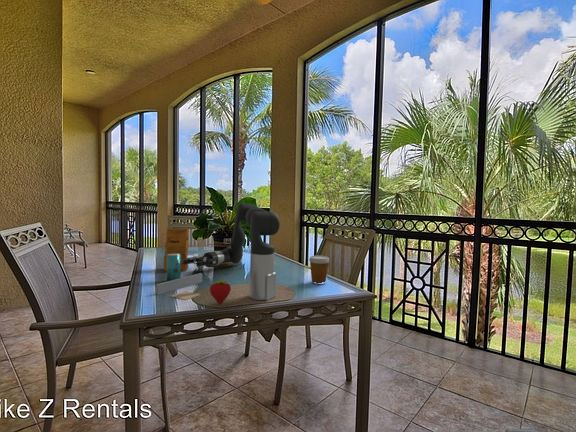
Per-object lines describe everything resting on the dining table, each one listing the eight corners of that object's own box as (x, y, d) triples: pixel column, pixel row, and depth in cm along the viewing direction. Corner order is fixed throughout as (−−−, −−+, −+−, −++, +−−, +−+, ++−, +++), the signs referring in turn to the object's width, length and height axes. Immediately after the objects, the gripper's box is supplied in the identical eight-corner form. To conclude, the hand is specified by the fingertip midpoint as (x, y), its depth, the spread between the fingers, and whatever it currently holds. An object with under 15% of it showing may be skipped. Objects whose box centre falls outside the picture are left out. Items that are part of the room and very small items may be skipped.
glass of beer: (318, 286, 145) (319, 259, 144) (304, 282, 152) (304, 256, 151) (333, 283, 151) (334, 257, 150) (318, 279, 158) (319, 254, 157)
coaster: (200, 295, 127) (201, 294, 127) (185, 300, 120) (185, 299, 120) (186, 291, 131) (186, 291, 131) (170, 296, 124) (170, 295, 124)
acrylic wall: (202, 282, 147) (202, 273, 147) (158, 294, 126) (158, 284, 126) (200, 281, 148) (200, 272, 147) (156, 294, 126) (156, 284, 126)
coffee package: (166, 267, 175) (166, 226, 174) (190, 267, 176) (190, 227, 175) (161, 271, 165) (161, 228, 164) (186, 272, 166) (186, 229, 165)
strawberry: (208, 302, 119) (208, 275, 118) (228, 300, 122) (228, 273, 121) (211, 307, 114) (211, 278, 113) (232, 304, 117) (232, 277, 116)
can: (183, 280, 148) (183, 253, 148) (173, 283, 143) (173, 255, 143) (174, 278, 151) (174, 252, 151) (163, 281, 146) (163, 254, 145)
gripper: (203, 250, 173) (179, 254, 159) (224, 252, 166) (201, 257, 152) (203, 264, 174) (179, 269, 159) (224, 267, 167) (201, 273, 152)
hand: (190, 263), depth 156 cm, fingers open, 8 cm apart
